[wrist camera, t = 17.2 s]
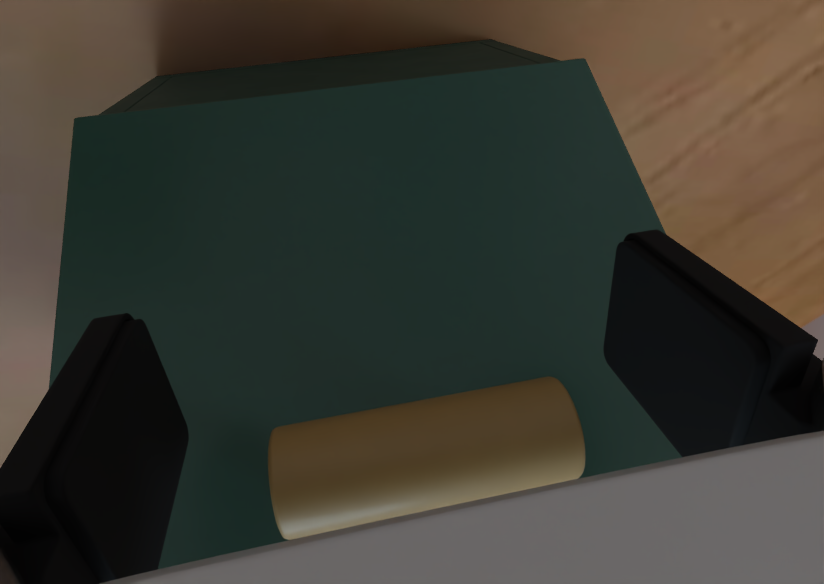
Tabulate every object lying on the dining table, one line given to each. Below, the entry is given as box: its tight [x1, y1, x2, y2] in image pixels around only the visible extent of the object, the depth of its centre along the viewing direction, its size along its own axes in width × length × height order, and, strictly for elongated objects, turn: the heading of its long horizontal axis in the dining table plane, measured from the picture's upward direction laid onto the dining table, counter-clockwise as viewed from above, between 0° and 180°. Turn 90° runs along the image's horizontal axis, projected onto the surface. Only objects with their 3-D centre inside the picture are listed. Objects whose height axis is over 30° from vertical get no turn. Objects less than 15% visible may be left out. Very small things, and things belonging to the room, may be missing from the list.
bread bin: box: [99, 39, 560, 115], centre depth 26 cm, size 14×17×10 cm
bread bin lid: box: [49, 58, 682, 569], centre depth 13 cm, size 15×17×5 cm
